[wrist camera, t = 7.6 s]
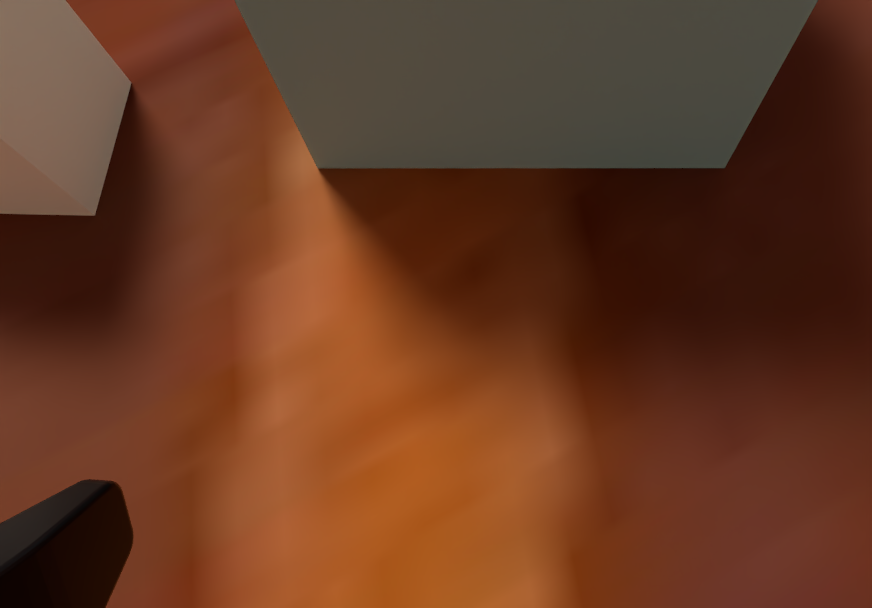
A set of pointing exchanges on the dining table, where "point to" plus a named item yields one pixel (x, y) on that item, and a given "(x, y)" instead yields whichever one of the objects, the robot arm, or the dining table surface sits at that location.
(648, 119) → the teal block
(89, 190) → the cream block
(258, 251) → the dining table surface
